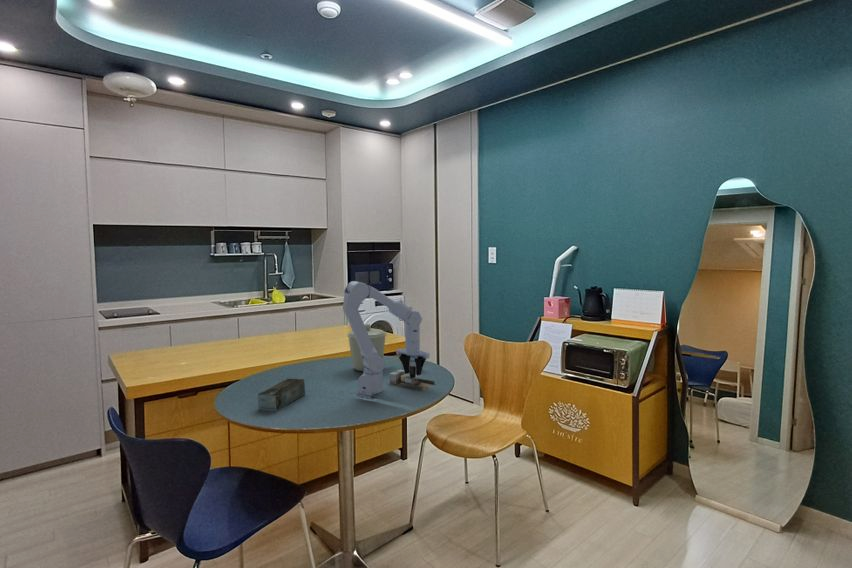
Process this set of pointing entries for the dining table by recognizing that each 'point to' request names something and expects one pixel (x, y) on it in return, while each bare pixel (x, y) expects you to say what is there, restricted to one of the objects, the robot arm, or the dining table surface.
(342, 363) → the dining table surface
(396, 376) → the base
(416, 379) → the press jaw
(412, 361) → the medicine box
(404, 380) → the potato
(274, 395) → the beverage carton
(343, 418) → the dining table surface
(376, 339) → the canister
